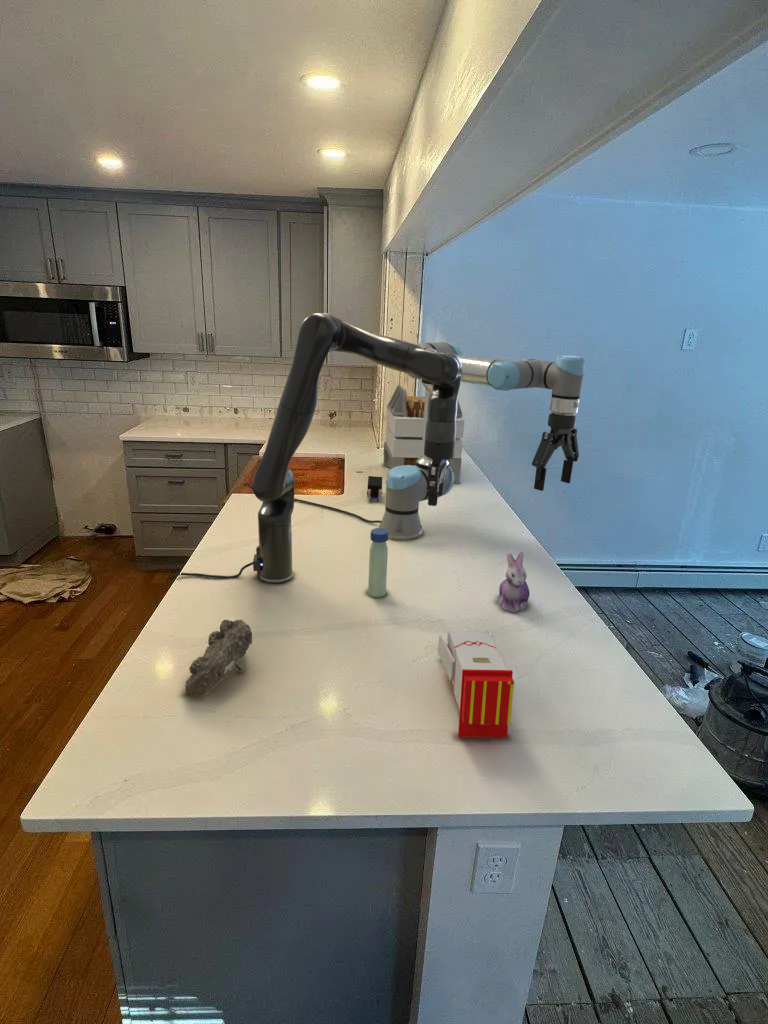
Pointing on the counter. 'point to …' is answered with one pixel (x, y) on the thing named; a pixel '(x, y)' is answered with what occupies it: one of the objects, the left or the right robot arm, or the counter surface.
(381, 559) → the bottle
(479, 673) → the toy
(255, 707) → the counter surface
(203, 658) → the fossil
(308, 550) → the counter surface
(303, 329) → the left robot arm
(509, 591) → the figurine
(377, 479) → the figurine character
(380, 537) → the cap
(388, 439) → the white crate
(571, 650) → the counter surface
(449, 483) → the right robot arm
